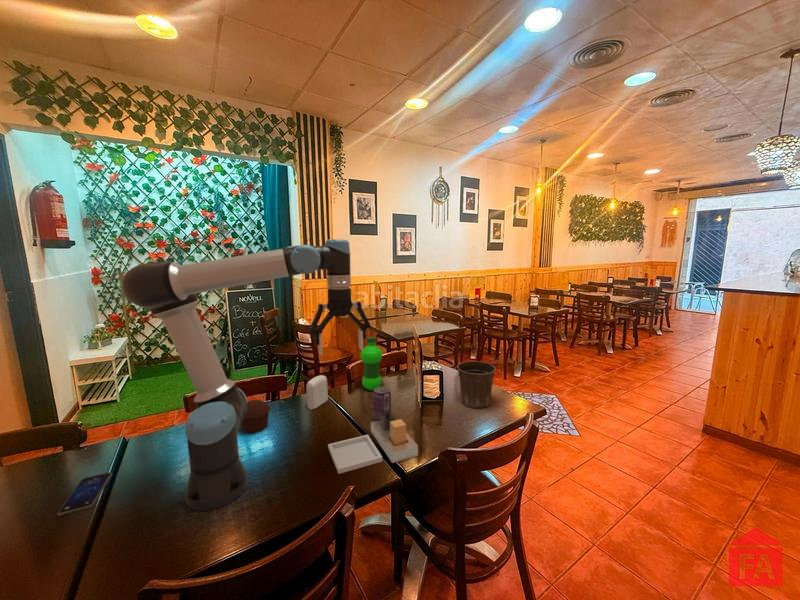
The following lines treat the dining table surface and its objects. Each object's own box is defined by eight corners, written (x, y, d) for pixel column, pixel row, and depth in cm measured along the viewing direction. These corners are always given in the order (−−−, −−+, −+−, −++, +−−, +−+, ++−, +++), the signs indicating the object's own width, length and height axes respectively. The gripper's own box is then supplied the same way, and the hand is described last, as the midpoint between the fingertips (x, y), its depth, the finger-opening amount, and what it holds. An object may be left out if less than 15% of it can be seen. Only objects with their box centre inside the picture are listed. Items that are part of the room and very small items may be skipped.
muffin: (231, 432, 122) (229, 406, 120) (253, 417, 132) (251, 394, 131) (257, 437, 118) (255, 411, 116) (278, 422, 128) (276, 398, 127)
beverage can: (392, 414, 134) (391, 386, 132) (389, 423, 127) (389, 393, 125) (374, 413, 135) (374, 385, 133) (371, 422, 128) (371, 393, 126)
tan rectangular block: (395, 456, 107) (394, 427, 105) (390, 449, 110) (390, 421, 109) (406, 453, 108) (406, 424, 107) (401, 446, 112) (401, 419, 111)
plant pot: (449, 403, 143) (450, 368, 141) (466, 391, 156) (467, 358, 153) (485, 415, 133) (486, 376, 131) (499, 400, 146) (501, 365, 143)
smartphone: (54, 515, 83) (81, 478, 96) (55, 518, 83) (82, 481, 97) (92, 505, 86) (113, 470, 99) (93, 508, 86) (114, 473, 100)
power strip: (392, 464, 103) (392, 433, 101) (370, 432, 121) (370, 405, 119) (417, 456, 106) (418, 426, 105) (393, 427, 124) (393, 401, 123)
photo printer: (313, 410, 138) (312, 382, 136) (305, 408, 140) (304, 380, 138) (329, 400, 147) (328, 374, 145) (321, 398, 149) (320, 372, 147)
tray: (338, 475, 98) (338, 469, 98) (328, 449, 110) (328, 444, 110) (382, 462, 103) (382, 456, 103) (368, 439, 116) (367, 434, 116)
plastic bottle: (374, 382, 167) (373, 334, 163) (386, 388, 159) (386, 338, 155) (357, 387, 160) (355, 337, 157) (369, 394, 152) (368, 342, 149)
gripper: (300, 291, 98) (304, 359, 101) (379, 287, 108) (380, 349, 111) (297, 288, 105) (300, 353, 108) (371, 285, 115) (372, 343, 118)
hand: (341, 351), depth 110 cm, fingers open, 13 cm apart
